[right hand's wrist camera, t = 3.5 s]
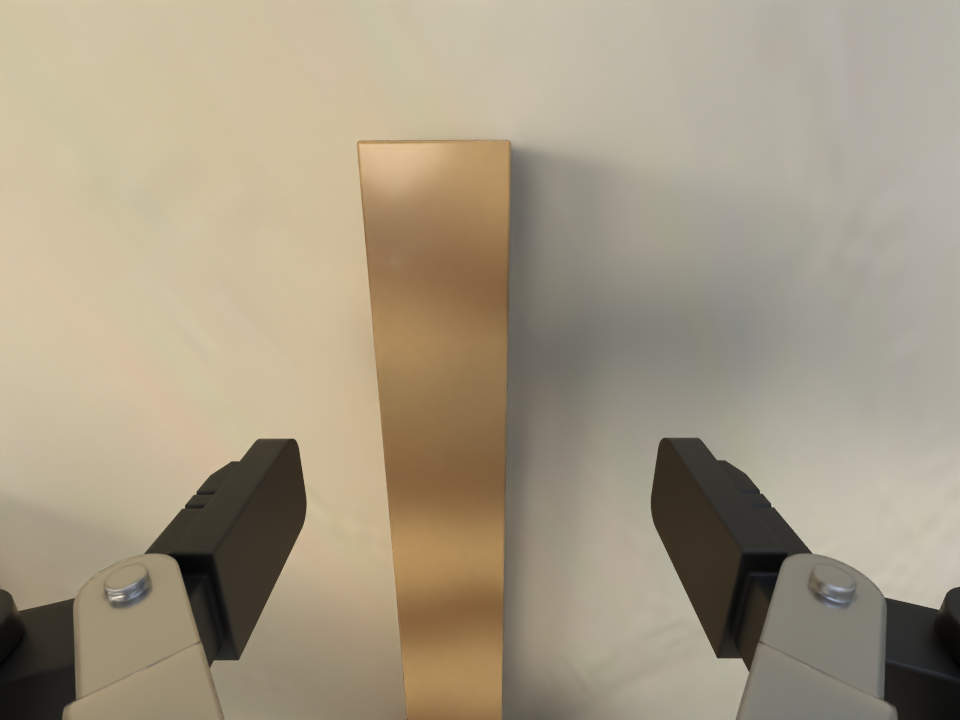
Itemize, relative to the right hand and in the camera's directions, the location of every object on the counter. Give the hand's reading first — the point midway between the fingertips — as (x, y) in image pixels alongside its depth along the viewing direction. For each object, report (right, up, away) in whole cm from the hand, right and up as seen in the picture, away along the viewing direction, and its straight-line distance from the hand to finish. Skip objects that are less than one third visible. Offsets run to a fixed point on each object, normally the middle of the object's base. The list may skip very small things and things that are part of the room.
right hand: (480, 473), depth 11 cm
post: (-1, -12, +21) cm, 24 cm away
